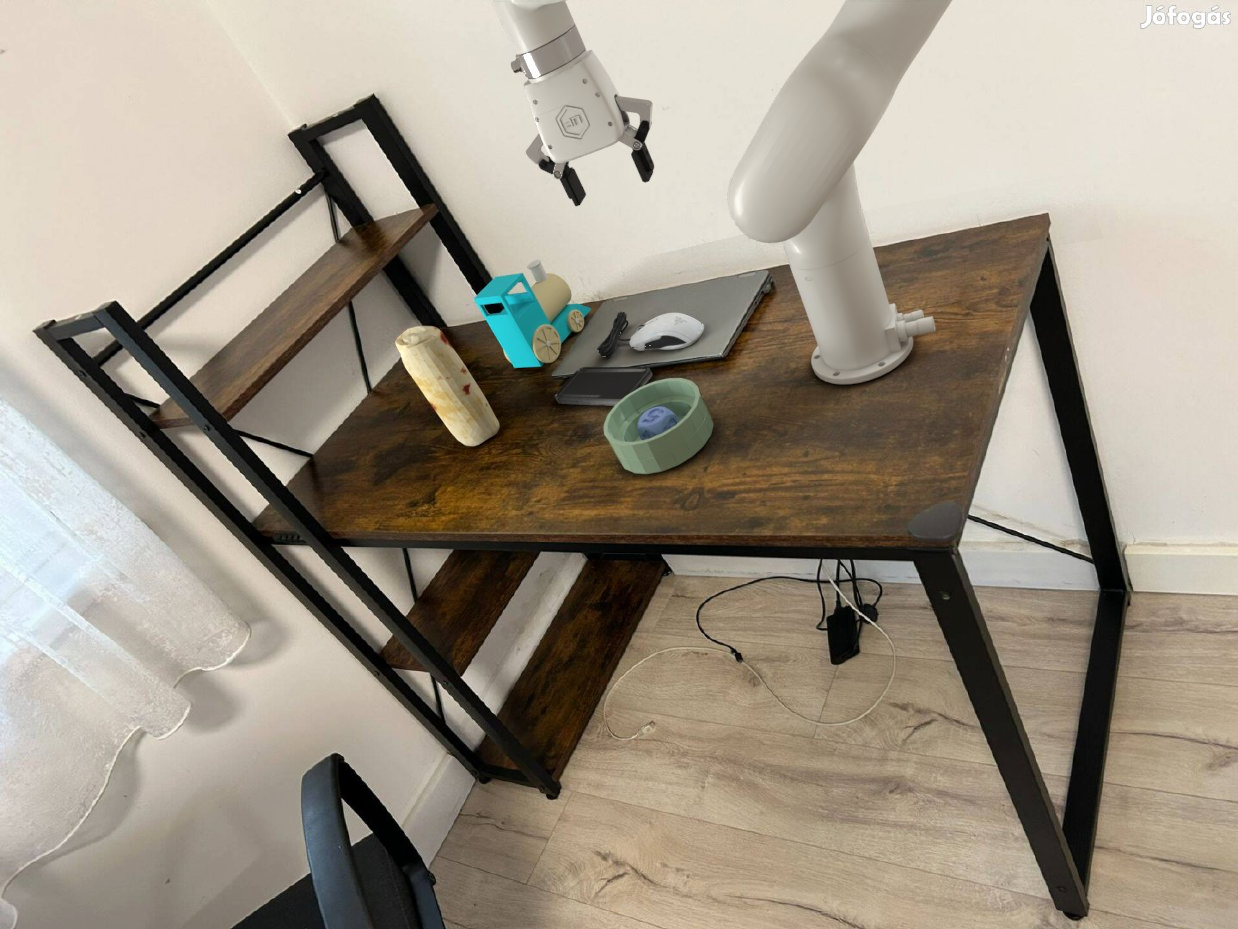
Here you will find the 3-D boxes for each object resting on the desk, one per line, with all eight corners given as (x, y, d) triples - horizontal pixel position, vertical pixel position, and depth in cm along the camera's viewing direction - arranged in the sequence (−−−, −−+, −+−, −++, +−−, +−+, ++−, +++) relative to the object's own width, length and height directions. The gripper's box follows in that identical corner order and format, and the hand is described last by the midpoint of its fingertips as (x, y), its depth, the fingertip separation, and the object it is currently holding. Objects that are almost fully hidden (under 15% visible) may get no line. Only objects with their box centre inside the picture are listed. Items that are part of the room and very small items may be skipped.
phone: (579, 366, 138) (652, 366, 128) (582, 372, 139) (655, 372, 129) (551, 398, 134) (624, 400, 124) (554, 404, 135) (627, 406, 125)
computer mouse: (692, 354, 129) (682, 332, 126) (595, 363, 140) (584, 343, 137) (717, 315, 134) (708, 293, 132) (622, 326, 145) (612, 306, 143)
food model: (513, 420, 137) (447, 315, 126) (490, 449, 133) (420, 342, 122) (470, 422, 142) (403, 322, 132) (447, 450, 138) (376, 348, 128)
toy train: (597, 312, 154) (559, 238, 146) (547, 370, 145) (503, 294, 137) (564, 315, 159) (525, 244, 151) (513, 372, 150) (470, 299, 142)
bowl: (722, 401, 116) (707, 369, 113) (705, 467, 106) (689, 433, 103) (633, 420, 122) (617, 389, 119) (610, 484, 112) (592, 452, 109)
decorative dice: (644, 448, 114) (632, 424, 112) (661, 428, 116) (650, 404, 114) (667, 451, 111) (655, 427, 109) (684, 430, 113) (673, 407, 111)
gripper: (480, 93, 102) (547, 223, 111) (611, 36, 94) (671, 181, 103) (502, 71, 107) (564, 197, 116) (626, 16, 99) (682, 155, 109)
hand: (614, 189), depth 110 cm, fingers open, 9 cm apart
